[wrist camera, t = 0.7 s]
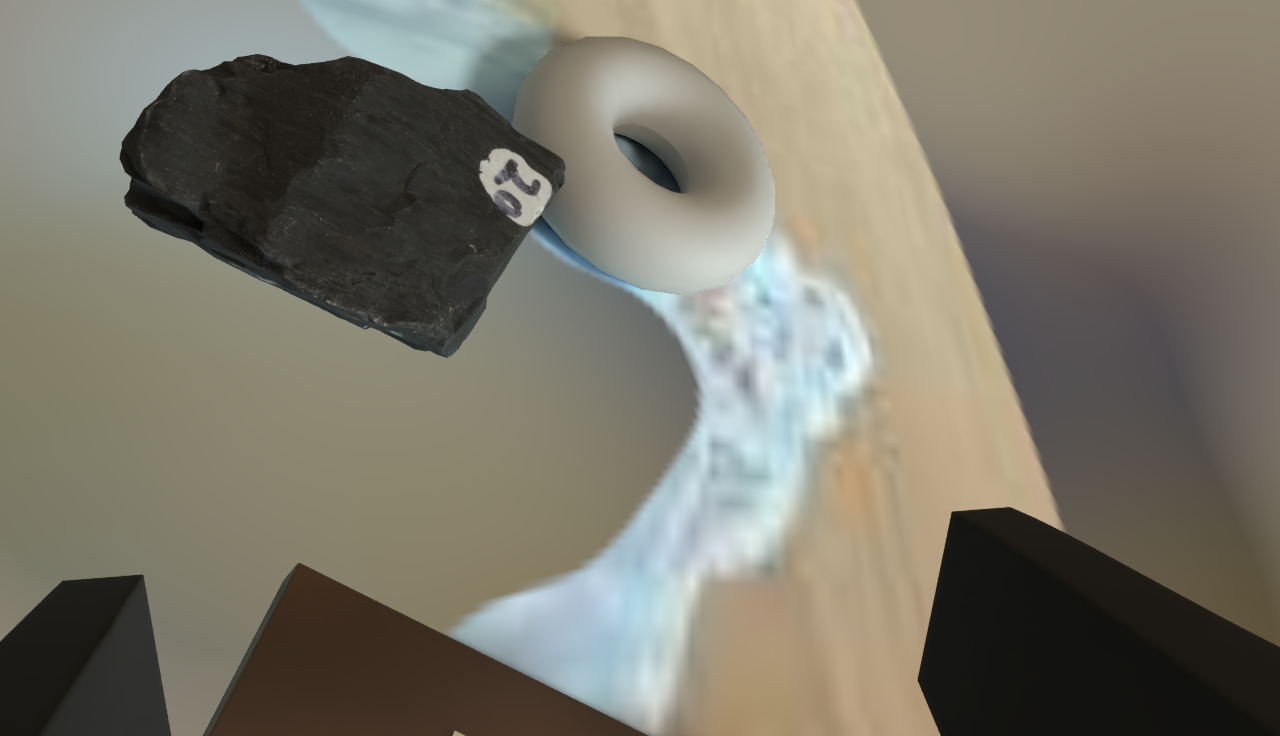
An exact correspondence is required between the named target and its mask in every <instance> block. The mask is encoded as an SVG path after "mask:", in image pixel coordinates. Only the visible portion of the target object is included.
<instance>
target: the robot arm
mask: <svg viewBox="0 0 1280 736" xmlns="http://www.w3.org/2000/svg"><path fill="white" fill-rule="evenodd" d="M918 682H919V685H920V687H921V690H922V692H923V694H924V697H925V699H926V702H927V704H928V706H929V709H930V711H931V713H932V716H933V718H934V721H935V723H936V725H937V728H938V730H939V733H940V735H941V736H1280V647H1278V646H1276V645H1274V644H1272V643H1270V642H1268V641H1267V640H1264V639H1263V638H1261V637H1259V636H1257V635H1255V634H1253V633H1251V632H1249V631H1247V630H1245V629H1243V628H1241V627H1239V626H1237V625H1236V624H1233V623H1232V622H1230V621H1228V620H1226V619H1224V618H1222V617H1220V616H1218V615H1216V614H1215V613H1213V612H1211V611H1209V610H1207V609H1205V608H1203V607H1202V606H1200V605H1198V604H1196V603H1194V602H1192V601H1190V600H1189V599H1187V598H1185V597H1183V596H1181V595H1179V594H1178V593H1175V592H1174V591H1172V590H1170V589H1168V588H1166V587H1164V586H1163V585H1161V584H1159V583H1157V582H1155V581H1154V580H1152V579H1150V578H1148V577H1146V576H1144V575H1142V574H1140V573H1139V572H1137V571H1135V570H1133V569H1131V568H1130V567H1128V566H1126V565H1124V564H1122V563H1120V562H1119V561H1117V560H1115V559H1113V558H1111V557H1109V556H1107V555H1105V554H1104V553H1102V552H1100V551H1098V550H1096V549H1095V548H1093V547H1091V546H1089V545H1087V544H1085V543H1083V542H1081V541H1079V540H1077V539H1075V538H1074V537H1072V536H1070V535H1068V534H1066V533H1064V532H1062V531H1060V530H1058V529H1056V528H1054V527H1052V526H1050V525H1048V524H1046V523H1044V522H1042V521H1040V520H1038V519H1036V518H1034V517H1032V516H1029V515H1027V514H1025V513H1022V512H1020V511H1018V510H1015V509H1013V508H1011V507H1005V508H992V509H980V510H967V511H954V512H952V513H951V518H950V523H949V528H948V533H947V538H946V543H945V548H944V553H943V558H942V562H941V567H940V572H939V577H938V582H937V587H936V592H935V597H934V602H933V607H932V612H931V617H930V622H929V626H928V631H927V636H926V641H925V646H924V651H923V656H922V661H921V666H920V671H919V676H918ZM0 736H171V732H170V727H169V722H168V715H167V709H166V704H165V698H164V692H163V687H162V681H161V675H160V669H159V664H158V657H157V652H156V646H155V640H154V634H153V628H152V622H151V617H150V611H149V605H148V599H147V593H146V588H145V582H144V576H143V575H132V576H120V577H107V578H94V579H81V580H68V581H62V582H61V583H60V584H59V585H58V586H57V587H56V588H55V589H54V590H52V592H50V593H49V594H48V595H47V596H46V597H45V598H44V599H43V600H42V601H41V602H40V603H39V604H38V605H37V606H36V607H35V608H34V609H33V610H32V611H31V612H30V613H29V614H28V615H27V616H26V617H25V618H24V619H23V620H22V621H21V622H20V623H19V624H18V625H17V626H16V627H15V628H14V629H13V630H12V631H10V633H8V635H6V636H5V637H4V638H3V639H2V640H1V642H0Z"/></svg>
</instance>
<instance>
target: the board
mask: <svg viewBox="0 0 1280 736" xmlns="http://www.w3.org/2000/svg"><path fill="white" fill-rule="evenodd" d="M203 736H648V735H646V734H644V733H642V732H640V731H638V730H636V729H634V728H632V727H630V726H628V725H626V724H624V723H622V722H620V721H618V720H616V719H614V718H612V717H610V716H607V715H605V714H603V713H601V712H599V711H597V710H595V709H593V708H591V707H589V706H587V705H585V704H583V703H581V702H579V701H577V700H575V699H573V698H571V697H569V696H567V695H565V694H563V693H561V692H559V691H557V690H555V689H553V688H551V687H549V686H547V685H545V684H543V683H541V682H539V681H537V680H535V679H533V678H531V677H529V676H527V675H525V674H523V673H521V672H519V671H517V670H515V669H513V668H511V667H509V666H507V665H505V664H503V663H501V662H498V661H496V660H494V659H492V658H490V657H488V656H486V655H484V654H482V653H480V652H478V651H476V650H474V649H472V648H470V647H468V646H466V645H464V644H462V643H460V642H458V641H456V640H454V639H452V638H450V637H448V636H446V635H444V634H442V633H440V632H438V631H436V630H434V629H432V628H430V627H428V626H426V625H424V624H422V623H420V622H418V621H416V620H414V619H412V618H410V617H408V616H406V615H404V614H402V613H399V612H398V611H395V610H393V609H391V608H389V607H387V606H385V605H383V604H381V603H379V602H377V601H375V600H373V599H371V598H369V597H367V596H365V595H363V594H361V593H359V592H357V591H355V590H353V589H351V588H349V587H347V586H345V585H343V584H341V583H339V582H337V581H335V580H333V579H331V578H329V577H327V576H325V575H323V574H321V573H319V572H317V571H315V570H313V569H311V568H309V567H307V566H305V565H303V564H301V563H298V564H297V565H296V566H295V567H294V569H293V570H292V571H291V572H290V573H289V575H288V576H287V577H286V578H285V580H284V581H283V583H282V585H281V587H280V589H279V590H278V592H277V594H276V596H275V598H274V600H273V602H272V604H271V606H270V608H269V610H268V612H267V614H266V616H265V618H264V619H263V621H262V623H261V625H260V627H259V629H258V631H257V633H256V635H255V637H254V639H253V641H252V643H251V644H250V647H249V648H248V650H247V652H246V654H245V656H244V658H243V660H242V662H241V664H240V665H239V667H238V669H237V671H236V673H235V675H234V677H233V679H232V681H231V683H230V685H229V687H228V689H227V690H226V692H225V694H224V696H223V698H222V700H221V702H220V704H219V706H218V708H217V710H216V712H215V714H214V715H213V717H212V719H211V721H210V723H209V725H208V727H207V729H206V731H205V733H204V735H203Z"/></svg>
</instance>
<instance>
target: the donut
mask: <svg viewBox="0 0 1280 736" xmlns="http://www.w3.org/2000/svg"><path fill="white" fill-rule="evenodd" d="M511 125H512V127H513V128H514V129H515V130H517V131H518V132H519V133H521V134H522V135H524V136H526V137H527V138H529V139H531V140H533V141H535V142H536V143H538V144H540V145H542V146H543V147H545V148H547V149H548V150H550V151H552V152H553V153H555V154H557V155H558V156H559V157H560V158H562V159H563V160H564V163H565V166H566V169H565V172H564V176H565V178H564V179H565V182H564V184H563V185H562V187H561V188H560V189H559V191H558V192H557V193H556V195H555V196H554V197H553V199H552V200H551V202H550V203H549V204H548V206H547V207H546V208H545V210H544V211H543V212H542V214H541V216H542V217H543V218H544V219H545V220H546V222H547V223H548V224H549V225H550V226H551V227H552V229H553V230H554V231H555V232H556V233H557V235H558V236H559V237H560V238H561V239H562V240H563V242H564V243H565V244H566V245H567V246H568V247H570V248H571V249H572V250H574V251H575V252H576V253H578V254H579V255H580V256H582V257H583V258H584V259H586V260H587V261H588V262H590V263H591V264H592V265H594V266H595V267H596V268H598V269H599V270H600V271H602V272H604V273H606V274H608V275H610V276H613V277H615V278H617V279H619V280H622V281H624V282H626V283H629V284H631V285H633V286H635V287H638V288H640V289H643V290H650V291H657V292H664V293H671V294H678V295H679V294H688V293H693V292H698V291H702V290H707V289H712V288H717V287H721V286H722V285H724V284H726V283H727V282H729V281H731V280H732V279H733V278H734V277H736V276H737V275H738V274H740V273H741V272H742V271H744V270H745V269H746V268H747V267H749V266H750V265H751V264H753V263H754V261H755V260H756V259H757V257H758V256H759V254H760V253H761V251H762V248H763V246H764V244H765V242H766V240H767V237H768V235H769V233H770V231H771V228H772V225H773V221H774V216H775V185H774V181H773V177H772V173H771V170H770V167H769V163H768V160H767V157H766V153H765V150H764V147H763V145H762V143H761V142H760V140H759V138H758V136H757V135H756V133H755V131H754V129H753V128H752V126H751V124H750V123H749V121H748V119H747V117H746V116H745V115H744V113H743V112H742V111H741V110H740V109H739V108H738V107H737V105H736V104H735V103H734V102H733V101H732V100H731V98H730V97H729V96H728V95H727V94H726V93H725V92H724V90H723V89H722V88H721V87H720V86H718V85H717V84H716V83H715V82H713V81H712V80H711V79H710V78H708V77H707V76H706V75H705V74H704V73H702V72H701V71H700V70H699V69H697V68H696V67H695V66H694V65H692V64H691V63H689V62H687V61H685V60H683V59H681V58H680V57H678V56H676V55H674V54H672V53H670V52H669V51H667V50H665V49H663V48H661V47H658V46H655V45H652V44H648V43H645V42H641V41H638V40H634V39H631V38H626V37H585V38H583V39H580V40H577V41H575V42H572V43H570V44H567V45H565V46H562V47H560V48H558V49H555V50H553V51H550V52H549V53H548V54H547V55H546V56H545V57H544V58H543V59H542V60H541V61H540V62H539V63H538V64H537V66H536V67H535V68H534V69H533V70H532V72H531V73H530V74H529V75H528V76H527V78H526V79H525V80H524V81H523V82H522V84H521V87H520V89H519V92H518V95H517V99H516V104H515V109H514V113H513V118H512V123H511ZM614 134H620V135H625V136H627V137H629V138H631V139H633V140H635V141H637V142H639V143H641V144H643V145H644V146H645V147H647V148H648V149H649V150H650V151H652V152H653V153H654V154H655V155H657V156H658V157H659V158H660V159H661V160H662V162H663V163H664V164H665V165H666V166H667V167H668V169H669V170H670V171H671V172H672V174H673V176H674V178H675V179H676V181H677V183H678V185H679V188H680V192H681V193H677V192H672V191H670V190H667V189H665V188H663V187H661V186H659V185H657V184H655V183H654V182H652V181H651V180H650V179H649V178H647V177H646V176H645V175H643V174H642V173H641V172H640V171H638V170H637V169H636V168H635V167H634V166H633V164H632V163H631V162H630V161H629V160H628V159H627V157H626V156H625V155H624V154H623V153H622V151H621V150H620V148H619V146H618V144H617V142H616V140H615V137H614Z"/></svg>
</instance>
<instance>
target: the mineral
mask: <svg viewBox="0 0 1280 736" xmlns="http://www.w3.org/2000/svg"><path fill="white" fill-rule="evenodd" d="M120 161H121V163H122V165H123V168H124V170H125V172H126V173H127V174H128V175H130V176H131V177H132V179H131V182H130V189H129V191H128V192H127V194H126V195H125V197H124V198H125V205H126V206H127V207H128V208H130V209H131V210H132V213H133V214H134V215H135V216H137V217H138V218H140V219H141V220H142V221H143V222H145V223H146V224H147V225H148V226H149V227H151V228H154V229H157V230H159V231H161V232H164V233H166V234H169V235H171V236H174V237H176V238H180V239H184V240H187V241H190V242H193V243H195V244H196V245H197V246H199V247H200V248H202V249H203V250H205V251H206V252H208V253H209V254H210V255H212V256H213V257H215V258H217V259H219V260H221V261H223V262H225V263H227V264H229V265H231V266H233V267H235V268H237V269H239V270H241V271H243V272H245V273H247V274H249V275H251V276H253V277H255V278H257V279H259V280H261V281H263V282H266V283H269V284H271V285H273V286H276V287H278V288H281V289H282V290H284V291H286V292H288V293H290V294H292V295H294V296H296V297H298V298H301V299H303V300H305V301H307V302H309V303H311V304H313V305H315V306H318V307H320V308H321V309H323V310H325V311H328V312H330V313H331V314H333V315H335V316H337V317H338V318H341V319H344V320H347V321H348V322H351V323H353V324H355V325H357V326H359V327H361V328H363V329H368V328H370V327H372V328H374V329H377V330H379V331H381V332H383V333H385V334H387V335H389V336H391V337H393V338H395V339H397V340H399V341H401V342H403V343H405V344H406V345H408V346H410V347H411V348H413V349H416V350H422V351H431V352H433V353H435V354H437V355H440V356H443V357H446V358H448V357H450V356H451V355H453V354H454V353H455V352H456V350H458V349H459V347H460V346H461V344H462V342H463V341H464V340H465V339H466V338H467V336H468V335H469V334H470V332H471V331H472V329H473V328H474V326H475V324H476V323H477V321H478V320H479V318H480V316H481V315H482V313H483V311H484V310H485V308H486V299H487V296H488V295H489V293H490V291H491V289H492V287H493V286H494V284H495V283H496V281H497V280H498V279H499V277H500V276H501V274H502V273H503V271H504V269H505V268H506V266H507V264H508V263H509V261H510V259H511V258H512V256H513V255H514V253H515V251H516V250H517V249H518V247H519V246H520V244H521V242H522V241H523V239H524V238H525V236H526V235H527V233H528V232H529V231H530V230H531V228H532V227H533V226H534V224H535V223H536V222H537V220H538V218H539V217H540V215H541V214H542V212H543V211H544V210H545V208H546V207H547V206H548V204H549V203H550V202H551V200H552V199H553V197H554V196H555V195H556V193H557V192H558V191H559V189H560V188H561V187H562V185H563V184H564V182H565V179H564V178H565V176H564V172H565V169H566V166H565V163H564V160H563V159H562V158H560V157H559V156H558V155H557V154H555V153H553V152H552V151H550V150H548V149H547V148H545V147H543V146H542V145H540V144H538V143H536V142H535V141H533V140H531V139H529V138H527V137H526V136H524V135H522V134H521V133H519V132H518V131H517V130H515V129H514V128H513V127H512V125H511V124H510V123H509V122H508V121H507V120H505V119H504V118H503V117H502V116H501V115H500V114H499V113H498V112H496V111H495V110H494V109H493V108H491V107H490V106H489V105H488V104H487V103H486V102H485V101H484V100H483V99H482V98H481V97H480V96H478V95H477V94H476V93H474V92H471V91H469V90H467V89H465V90H450V89H444V90H443V89H437V88H433V87H429V86H425V85H422V84H420V83H418V82H416V81H414V80H412V79H410V78H409V77H407V76H405V75H403V74H401V73H399V72H396V71H393V70H391V69H388V68H385V67H383V66H380V65H377V64H374V63H372V62H369V61H366V60H363V59H360V58H355V57H350V56H347V57H344V58H340V59H337V60H332V61H326V62H319V63H310V64H300V65H296V66H295V65H291V64H288V63H282V62H280V61H278V60H276V59H273V58H272V57H269V56H265V55H260V54H255V55H249V56H243V57H237V58H236V59H235V60H233V61H224V62H223V63H221V64H220V65H218V66H216V67H213V68H211V69H207V70H202V71H200V70H188V71H185V72H183V73H181V74H180V75H179V76H177V77H176V78H175V79H174V80H172V81H171V82H170V83H169V84H168V85H167V86H166V87H165V88H164V90H163V91H162V92H161V94H160V95H159V96H158V98H157V99H156V100H155V101H154V102H152V103H151V104H150V105H148V106H147V107H146V108H145V109H144V110H143V112H142V113H141V115H140V117H139V118H138V120H137V122H136V124H135V126H134V127H133V128H132V130H131V131H130V132H129V133H128V134H127V135H126V137H125V139H124V140H123V142H122V149H121V153H120Z"/></svg>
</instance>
